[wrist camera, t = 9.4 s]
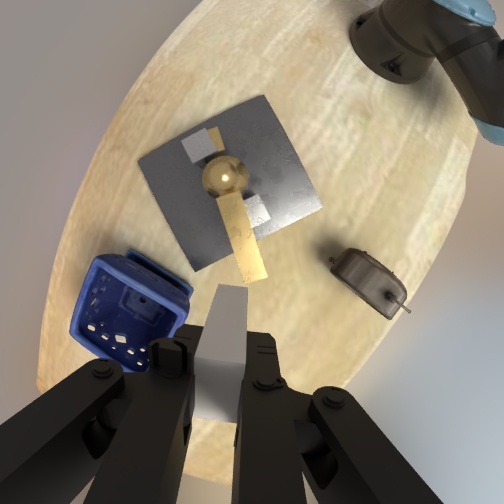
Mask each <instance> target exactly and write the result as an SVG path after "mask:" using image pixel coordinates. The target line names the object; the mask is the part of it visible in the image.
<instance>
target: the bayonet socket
mask: <svg viewBox="0 0 504 504" xmlns="http://www.w3.org/2000/svg"><path fill="white" fill-rule="evenodd" d="M215 127H218V129H219V132H220V135H221V138H222V142H223V145H224V148H225V151H223V152H220V153H217V154H214V153H216V152H218V151H217V149H216V147H215V145H214V143H213V141H212V139H211V137H210V136H209V134H208V132H207V130H209V129H212V128H215ZM212 154H214V155H212ZM210 155H211V156H210ZM220 156H231V157H234V158H236V159H238V160H239V161H241V162H242V163H243V165H244V166H245V168H246V170H247V173H248V182H247V186H246V189H245V190H244V192H243V193H242V194H241V195H242V198H243V201H244V204H245V207H246V210H247V213H248V216H249V219H250V222H251V226H252V229H253V232H254V235H255V238H256V241H257V240H259V239H261V238H263V237H265V236H267V235H269V234H271V233H273V232H275V231H277V230H279V229H281V228H283V227H285V226H287V225H289V224H291V223H293V222H295V221H297V220H299V219H301V218H303V217H305V216H307V215H309V214H311V213H313V212H315V211H317V210H319V209H321V208H323V206H322V204H321V202H320V200H319V198H318V196H317V193H316V191H315V189H314V187H313V185H312V183H311V181H310V179H309V177H308V175H307V173H306V171H305V169H304V167H303V165H302V163H301V161H300V159H299V157H298V155H297V153H296V151H295V149H294V147H293V146H292V144H291V142H290V140H289V138H288V136H287V134H286V133H285V131H284V129H283V127H282V125H281V123H280V122H279V120H278V118H277V116H276V115H275V113H274V111H273V109H272V108H271V106H270V104H269V102H268V101H267V99H266V97H265V96H264V95H261V96H259V97H256V98H254V99H252V100H250V101H247V102H245V103H243V104H241V105H238V106H236V107H234V108H232V109H230V110H228V111H226V112H224V113H221V114H219V115H217V116H215V117H213V118H211V119H209V120H207V121H206V122H204V123H202V124H200V125H198V126H196V127H194V128H192V129H190V130H189V131H187V132H185V133H183V134H181V135H180V136H178V137H176V138H174V139H173V140H171V141H169V142H168V143H166V144H164V145H163V146H161V147H159V148H158V149H156V150H154V151H153V152H151V153H149V154H148V155H146V156H145V157H143V158H142V159H140V160H139V161H138V164H139V166H140V168H141V170H142V172H143V174H144V176H145V178H146V180H147V182H148V184H149V186H150V188H151V190H152V192H153V194H154V196H155V198H156V200H157V202H158V204H159V206H160V208H161V210H162V212H163V214H164V216H165V218H166V220H167V222H168V224H169V225H170V227H171V229H172V231H173V233H174V235H175V237H176V239H177V240H178V242H179V244H180V246H181V248H182V250H183V251H184V253H185V255H186V257H187V259H188V260H189V262H190V264H191V266H192V267H193V269H194V271H195V272H197V271H199V270H201V269H202V268H204V267H206V266H208V265H210V264H212V263H214V262H216V261H218V260H220V259H222V258H224V257H226V256H228V255H230V254H232V253H234V251H233V248H232V245H231V242H230V239H229V236H228V233H227V230H226V227H225V224H224V221H223V218H222V215H221V212H220V209H219V206H218V203H217V200H216V199H214V198H213V197H211V196H210V195H209V194H208V193H207V192H206V190H205V189H204V186H203V183H202V175H203V171H204V169H205V167H206V165H207V164H208V163H209V162H210V161H211V160H213V159H214V158H217V157H220Z"/></svg>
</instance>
